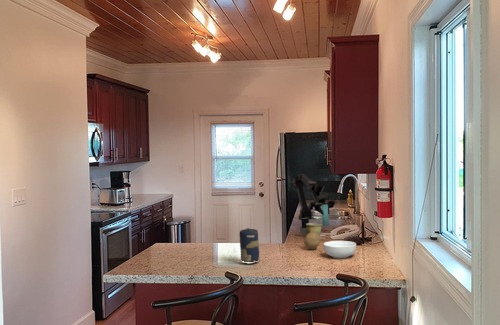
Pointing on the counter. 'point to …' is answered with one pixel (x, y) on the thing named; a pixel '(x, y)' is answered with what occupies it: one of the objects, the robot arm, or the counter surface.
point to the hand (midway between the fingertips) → (326, 214)
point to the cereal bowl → (340, 248)
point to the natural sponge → (312, 241)
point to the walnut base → (302, 232)
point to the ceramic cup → (314, 228)
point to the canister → (249, 245)
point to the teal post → (325, 215)
